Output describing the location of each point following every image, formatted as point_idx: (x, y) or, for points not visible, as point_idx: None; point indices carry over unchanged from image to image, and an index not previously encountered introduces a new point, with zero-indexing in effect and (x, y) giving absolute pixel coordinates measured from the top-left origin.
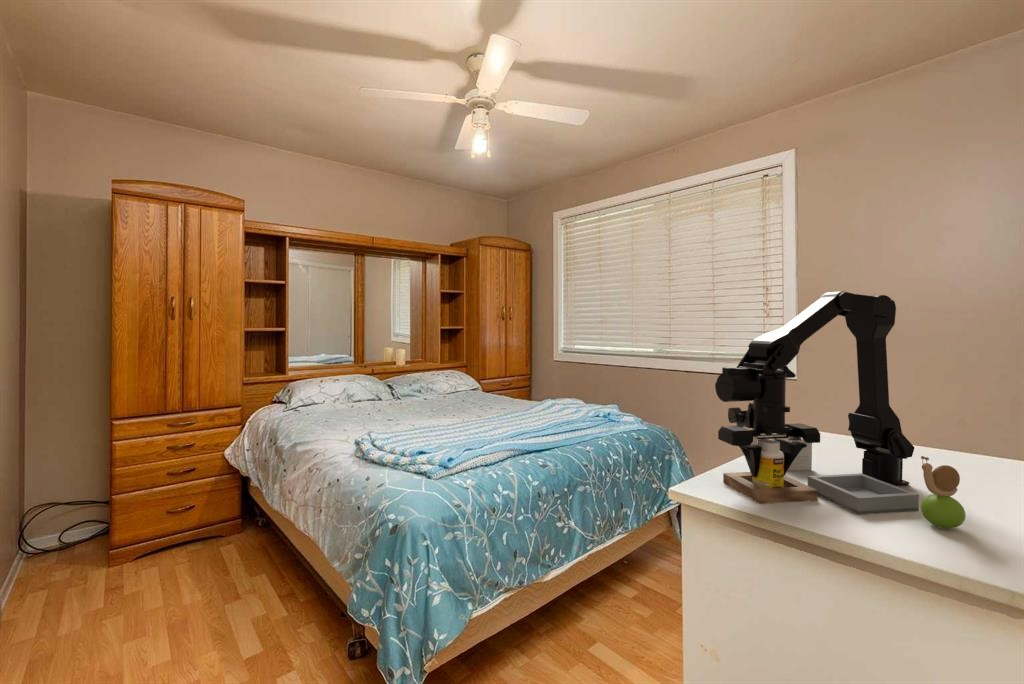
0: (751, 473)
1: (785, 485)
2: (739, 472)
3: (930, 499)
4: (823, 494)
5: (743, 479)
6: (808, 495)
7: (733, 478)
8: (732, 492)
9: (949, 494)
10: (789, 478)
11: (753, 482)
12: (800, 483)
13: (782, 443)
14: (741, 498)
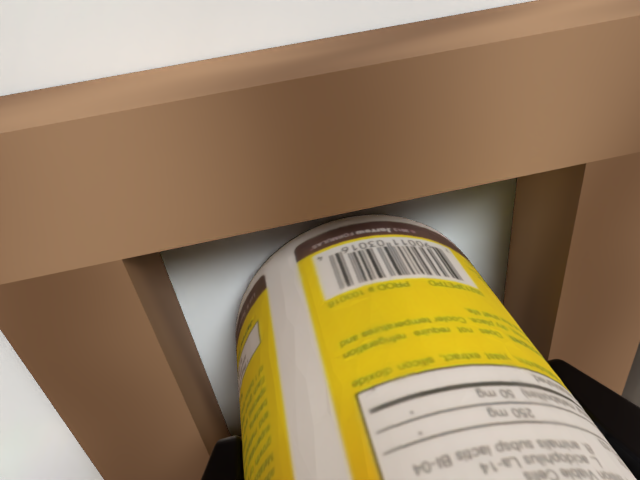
0: (208, 470)
1: (527, 299)
2: (174, 108)
3: None
4: (638, 392)
5: (140, 359)
6: None
7: (20, 349)
8: (24, 367)
9: None
10: (636, 280)
11: (238, 362)
12: (607, 379)
13: None
14: (76, 452)
